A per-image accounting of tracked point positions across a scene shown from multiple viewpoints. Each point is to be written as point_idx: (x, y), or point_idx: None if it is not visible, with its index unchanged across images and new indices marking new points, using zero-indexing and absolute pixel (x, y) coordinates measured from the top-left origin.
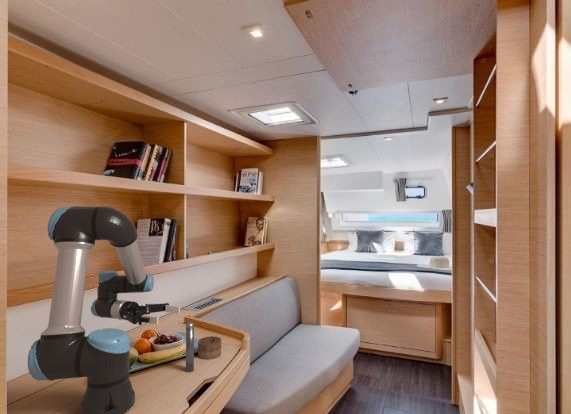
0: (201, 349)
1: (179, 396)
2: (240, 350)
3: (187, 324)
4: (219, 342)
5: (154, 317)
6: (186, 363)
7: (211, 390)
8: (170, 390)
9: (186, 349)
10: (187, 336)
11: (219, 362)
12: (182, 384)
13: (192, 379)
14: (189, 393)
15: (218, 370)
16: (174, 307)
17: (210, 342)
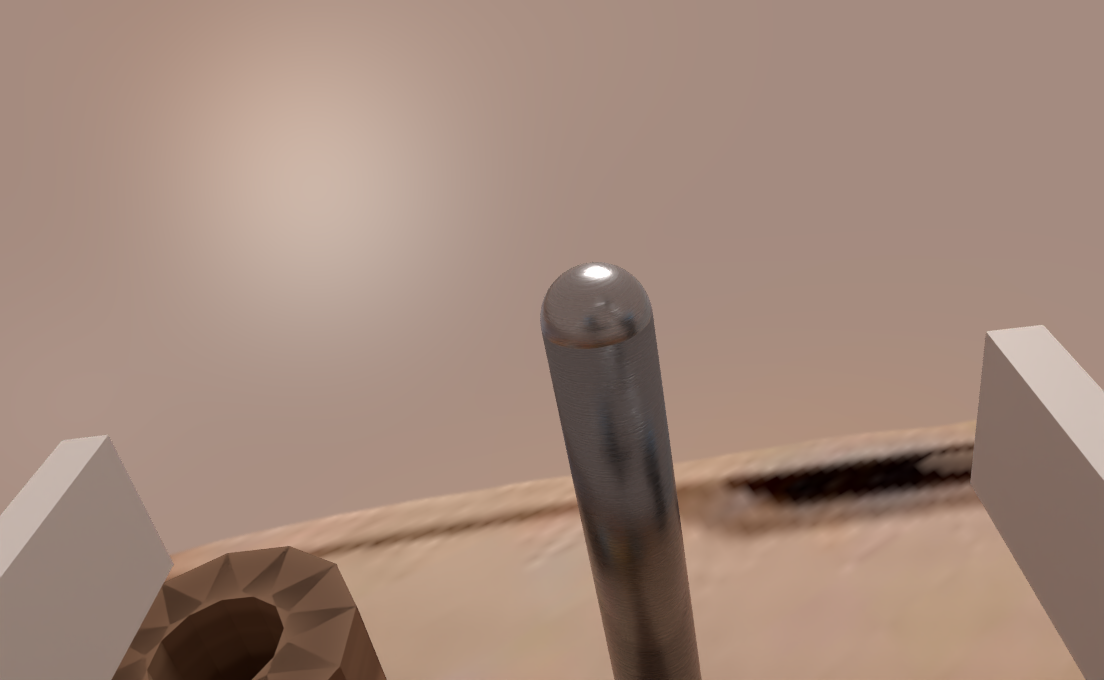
0: None
1: None
2: (182, 572)
3: (632, 289)
4: (265, 554)
5: (1079, 388)
6: (696, 672)
7: (842, 436)
8: (1049, 650)
9: (680, 560)
10: (665, 419)
11: (432, 595)
12: (904, 628)
13: (789, 609)
14: (967, 512)
15: (571, 533)
16: (54, 550)
17: (278, 611)
